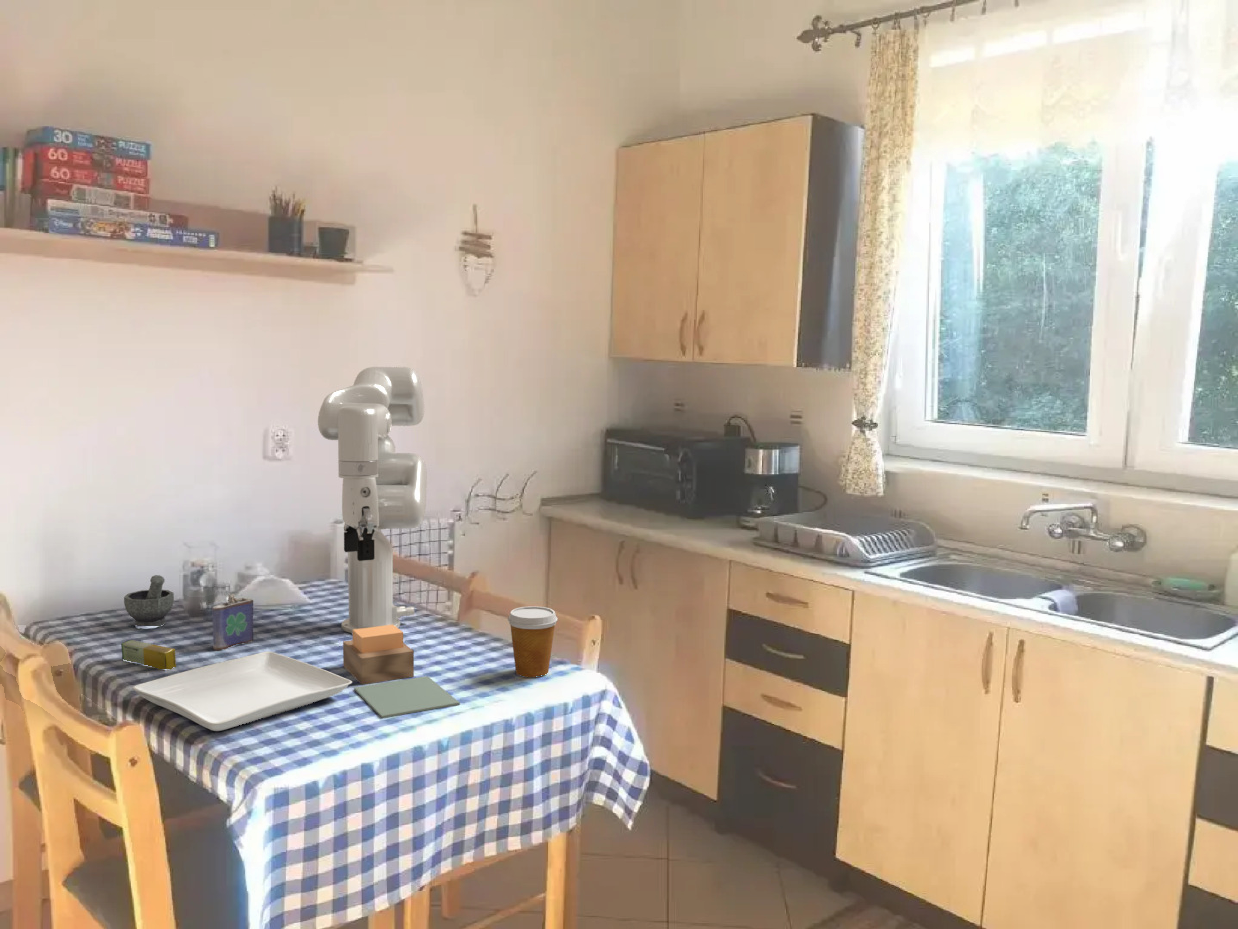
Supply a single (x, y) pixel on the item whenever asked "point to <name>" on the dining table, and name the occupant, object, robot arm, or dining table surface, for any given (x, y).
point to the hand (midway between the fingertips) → (359, 555)
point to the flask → (232, 622)
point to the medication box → (149, 654)
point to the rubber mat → (405, 696)
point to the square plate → (242, 689)
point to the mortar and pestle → (150, 604)
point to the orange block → (377, 638)
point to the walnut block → (378, 663)
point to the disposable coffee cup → (532, 639)
